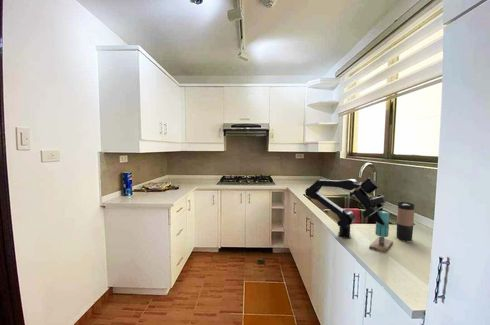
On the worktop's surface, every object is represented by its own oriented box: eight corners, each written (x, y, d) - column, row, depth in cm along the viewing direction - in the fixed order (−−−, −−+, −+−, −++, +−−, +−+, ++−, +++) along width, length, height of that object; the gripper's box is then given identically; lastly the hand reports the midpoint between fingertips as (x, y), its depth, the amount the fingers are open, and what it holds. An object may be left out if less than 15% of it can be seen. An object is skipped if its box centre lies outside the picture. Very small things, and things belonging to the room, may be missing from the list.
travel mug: (409, 236, 132) (411, 202, 131) (414, 242, 125) (417, 206, 123) (393, 235, 134) (395, 201, 133) (398, 240, 127) (400, 205, 126)
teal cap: (374, 232, 124) (376, 210, 123) (386, 233, 122) (388, 211, 121) (376, 236, 119) (377, 213, 118) (389, 237, 117) (390, 214, 116)
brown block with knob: (369, 248, 117) (369, 239, 117) (378, 239, 129) (378, 231, 129) (385, 252, 113) (385, 244, 112) (392, 242, 124) (393, 235, 124)
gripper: (370, 192, 114) (394, 219, 108) (380, 187, 128) (403, 211, 121) (353, 204, 121) (375, 231, 114) (364, 198, 134) (385, 222, 127)
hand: (385, 223), depth 119 cm, fingers closed on teal cap, 6 cm apart
